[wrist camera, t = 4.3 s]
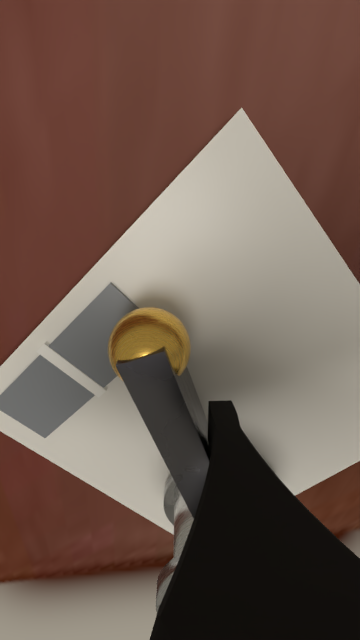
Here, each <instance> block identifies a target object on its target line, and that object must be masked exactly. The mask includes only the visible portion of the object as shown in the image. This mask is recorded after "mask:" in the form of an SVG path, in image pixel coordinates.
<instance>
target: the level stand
mask: <svg viewBox="0 0 360 640" xmlns="http://www.w3.org/2000/svg"><path fill="white" fill-rule="evenodd" d="M145 307H155V308H160V309H164V310H166V311H168V312H170V313H172V314H173V315H175V316H176V317H177V318H178V319H179V320H180V321H181V322H182V323H183V325H184V326H185V328H186V330H187V332H188V335H189V338H190V344H191V353H190V358H189V361H188V364H187V368H188V371H189V373H190V376H191V379H192V381H193V384H194V386H195V389H196V392H197V394H198V397H199V400H200V402H201V405H202V408H203V410H204V413H205V416H206V418H207V421H208V404H209V401H228V400H231V401H232V403H233V405H234V407H235V409H236V412H237V414H238V419H239V423H240V427H241V429H242V430H243V432H244V433H245V435H246V436H247V437H248V439H249V440H250V442H251V443H252V445H253V446H254V447H255V449H256V450H257V451H258V453H259V454H260V455H261V457H262V458H263V459H264V460H265V462H266V463H267V464H268V466H269V467H271V468H272V470H273V471H274V472H275V473H276V475H277V476H278V478H279V479H280V480H281V481H282V482H283V483H284V484H285V486H286V487H287V488H288V489H289V490H290V491H291V492H292V493H293V494H294V496H295V495H297V494H299V493H301V492H302V491H304V490H306V489H308V488H310V487H312V486H314V485H315V484H317V483H319V482H321V481H323V480H325V479H327V478H329V477H330V476H332V475H334V474H336V473H338V472H340V471H342V470H343V469H345V468H347V467H349V466H351V465H353V464H355V463H357V462H358V461H360V284H359V283H358V281H357V280H356V278H355V277H354V275H353V274H352V272H351V271H350V269H349V268H348V266H347V265H346V263H345V262H344V260H343V259H342V257H341V256H340V254H339V253H338V251H337V250H336V248H335V247H334V245H333V244H332V242H331V241H330V239H329V238H328V236H327V235H326V233H325V232H324V230H323V229H322V227H321V226H320V224H319V223H318V221H317V220H316V218H315V217H314V215H313V214H312V212H311V211H310V209H309V208H308V206H307V205H306V203H305V202H304V200H303V199H302V197H301V196H300V194H299V193H298V191H297V190H296V188H295V187H294V185H293V184H292V182H291V181H290V179H289V178H288V176H287V175H286V173H285V172H284V170H283V169H282V167H281V166H280V164H279V163H278V161H277V160H276V158H275V157H274V155H273V154H272V152H271V151H270V149H269V148H268V146H267V145H266V143H265V142H264V140H263V139H262V137H261V136H260V134H259V133H258V131H257V130H256V128H255V127H254V125H253V124H252V122H251V121H250V119H249V118H248V116H247V115H246V113H245V112H244V110H243V109H242V108H241V109H240V110H239V111H238V112H237V113H236V114H235V115H234V116H233V117H232V119H231V120H230V121H229V122H228V123H227V124H226V125H225V126H224V127H223V128H222V129H221V130H220V131H219V132H218V134H217V135H216V136H215V137H214V138H213V139H212V140H211V141H210V142H209V143H208V144H207V145H206V146H205V148H204V149H203V150H202V151H201V152H200V153H199V154H198V155H197V156H196V157H195V158H194V159H193V160H192V161H191V163H190V164H189V165H188V166H187V167H186V168H185V169H184V170H183V171H182V172H181V173H180V174H179V175H178V176H177V178H176V179H175V180H174V181H173V182H172V183H171V184H170V185H169V186H168V187H167V188H166V189H165V190H164V192H163V193H162V194H161V195H160V196H159V197H158V198H157V199H156V200H155V201H154V202H153V203H152V204H151V205H150V207H149V208H148V209H147V210H146V211H145V212H144V213H143V214H142V215H141V216H140V217H139V218H138V219H137V220H136V222H135V223H134V224H133V225H132V226H131V227H130V228H129V229H128V230H127V231H126V232H125V233H124V234H123V236H122V237H121V238H120V239H119V240H118V241H117V242H116V243H115V244H114V245H113V246H112V247H111V248H110V249H109V251H108V252H107V253H106V254H105V255H104V256H103V257H102V258H101V259H100V260H99V261H98V262H97V263H96V264H95V266H94V267H93V268H92V269H91V270H90V271H89V272H88V273H87V274H86V275H85V276H84V277H83V278H82V280H81V281H80V282H79V283H78V284H77V285H76V286H75V287H74V288H73V289H72V290H71V291H70V292H69V293H68V295H67V296H66V297H65V298H64V299H63V300H62V301H61V302H60V303H59V304H58V305H57V306H56V307H55V308H54V310H53V311H52V312H51V313H50V314H49V315H48V316H47V317H46V318H45V319H44V320H43V321H42V322H41V324H40V325H39V326H38V327H37V328H36V329H35V330H34V331H33V332H32V333H31V334H30V335H29V336H28V337H27V339H26V340H25V341H24V342H23V343H22V344H21V345H20V346H19V347H18V348H17V349H16V350H15V351H14V352H13V354H12V355H11V356H10V357H9V358H8V359H7V360H6V361H5V362H4V363H3V364H2V365H1V366H0V431H1V432H3V433H5V434H6V435H8V436H10V437H11V438H13V439H15V440H16V441H18V442H20V443H21V444H23V445H25V446H26V447H28V448H30V449H31V450H33V451H35V452H36V453H38V454H40V455H41V456H43V457H45V458H46V459H48V460H50V461H51V462H53V463H55V464H56V465H58V466H60V467H61V468H63V469H65V470H66V471H68V472H70V473H71V474H73V475H75V476H76V477H78V478H80V479H81V480H83V481H85V482H86V483H88V484H90V485H91V486H93V487H95V488H97V489H98V490H100V491H102V492H103V493H105V494H107V495H108V496H110V497H112V498H113V499H115V500H117V501H118V502H120V503H122V504H123V505H125V506H127V507H128V508H130V509H132V510H133V511H135V512H137V513H138V514H140V515H142V516H143V517H145V518H147V519H148V520H150V521H152V522H153V523H155V524H157V525H158V526H160V527H162V528H163V529H165V530H167V531H168V532H170V533H172V534H173V535H174V525H173V524H172V523H171V522H170V521H169V520H168V518H167V517H166V514H165V512H164V489H165V486H166V483H167V481H168V480H169V478H170V477H171V474H170V472H169V470H168V468H167V466H166V464H165V462H164V460H163V458H162V456H161V454H160V452H159V450H158V448H157V446H156V444H155V442H154V440H153V438H152V436H151V434H150V432H149V430H148V428H147V427H146V425H145V423H144V421H143V419H142V417H141V415H140V413H139V411H138V409H137V407H136V405H135V403H134V401H133V399H132V397H131V395H130V393H129V391H128V389H127V387H126V385H125V383H124V382H123V381H122V380H121V379H120V378H119V377H118V376H117V375H116V373H115V372H114V370H113V369H112V367H111V364H110V361H109V357H108V341H109V337H110V334H111V332H112V330H113V328H114V326H115V325H116V324H117V322H118V321H119V320H120V319H121V318H122V317H123V316H125V315H126V314H127V313H129V312H131V311H133V310H136V309H139V308H145Z"/></svg>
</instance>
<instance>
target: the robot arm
mask: <svg viewBox="0 0 360 640" xmlns="http://www.w3.org/2000/svg"><path fill="white" fill-rule="evenodd" d="M208 448H209V455H210V462H209V467H208V471H207V476H206V480H205V483H204V487H203V491H202V494H201V498H200V501H199V504H198V507H197V511H196V514H195V517H194V520H193V523H192V526H191V529H190V531H189V534H188V537H187V539H186V542H185V545H184V548H183V550H182V553H181V556H180V558H179V561H178V563H177V566H176V568H175V571H174V573H173V576H172V578H171V580H170V583H169V585H168V587H167V590H166V592H165V595H164V597H163V599H162V602H161V604H160V606H159V609H158V613H157V617H156V620H155V624H154V627H153V631H152V634H151V637H150V640H360V558H358V557H357V556H356V555H355V554H354V553H353V552H352V551H351V550H350V549H348V548H347V547H346V546H345V545H344V544H343V543H342V542H341V541H340V540H339V539H337V537H336V536H335V535H333V534H332V533H331V532H330V531H329V530H328V529H327V528H326V527H325V526H324V525H323V524H322V523H321V522H320V521H319V520H318V519H317V518H316V517H315V516H314V515H313V514H312V513H311V512H310V511H309V510H308V509H307V508H306V507H305V506H304V505H303V504H302V503H301V502H300V501H299V500H298V499H297V498H296V497H295V496H294V494H293V493H292V492H291V491H290V490H289V489H288V488H287V487H286V486H285V484H284V483H283V482H282V481H281V480H280V479H279V478H278V476H277V475H276V474H275V473H274V472H273V470H272V469H271V468H270V467H269V466H268V464H267V463H266V462H265V460H264V459H263V458H262V457H261V455H260V454H259V453H258V451H257V450H256V449H255V447H254V446H253V445H252V443H251V442H250V440H249V439H248V437H247V436H246V435H245V433H244V432H243V430H242V429H241V427H240V423H239V419H238V414H237V412H236V409H235V407H234V405H233V403H232V401H231V400H228V401H209V404H208Z"/></svg>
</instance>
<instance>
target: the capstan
mask: <svg viewBox="0 0 360 640" xmlns="http://www.w3.org/2000/svg"><path fill="white" fill-rule="evenodd" d="M190 353H191V344H190V338H189V335H188V332H187V330H186V328H185V326H184V325H183V323H182V322H181V321H180V320H179V319H178V318H177V317H176V316H175V315H173V314H172V313H170V312H168V311H166V310H164V309H160V308H155V307H145V308H139V309H136V310H133V311H131V312H129V313H127V314H126V315H125V316H123V317H122V318H121V319H120V320H119V321H118V322H117V324H116V325H115V326H114V328H113V330H112V332H111V334H110V337H109V341H108V357H109V361H110V364H111V367H112V369H113V370H114V372H115V373H116V375H117V376H118V377H119V378H120V379H121V380H122V381H123V382H124V383H125V385H126V387H127V389H128V391H129V393H130V395H131V397H132V399H133V401H134V403H135V405H136V407H137V409H138V411H139V413H140V415H141V417H142V419H143V421H144V423H145V425H146V427H147V428H148V430H149V432H150V434H151V436H152V438H153V440H154V442H155V444H156V446H157V448H158V450H159V452H160V454H161V456H162V458H163V460H164V462H165V464H166V466H167V468H168V470H169V472H170V474H171V477H170V478H169V480H168V481H167V483H166V486H165V489H164V512H165V514H166V517H167V518H168V520H169V521H170V522H171V523H172V524H173V525H174V558H173V559H172V560H171V561H169V562H168V563H167V564H166V565H165V566H164V568H163V569H162V570H161V572H160V574H159V576H158V580H157V595H156V611H157V613H158V609H159V606H160V604H161V602H162V599H163V597H164V595H165V592H166V590H167V587H168V585H169V583H170V580H171V578H172V576H173V573H174V571H175V568H176V566H177V563H178V561H179V558H180V556H181V553H182V550H183V548H184V545H185V542H186V539H187V537H188V534H189V531H190V529H191V526H192V523H193V520H194V517H195V514H196V511H197V507H198V504H199V501H200V498H201V494H202V491H203V487H204V483H205V480H206V476H207V471H208V467H209V462H210V455H209V448H208V421H207V418H206V416H205V413H204V410H203V408H202V405H201V402H200V400H199V397H198V394H197V392H196V389H195V386H194V384H193V381H192V379H191V376H190V373H189V371H188V368H187V364H188V361H189V358H190ZM270 468H271V467H270ZM271 469H272V468H271ZM273 472H274V471H273ZM274 473H275V472H274ZM275 474H276V473H275Z"/></svg>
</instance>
